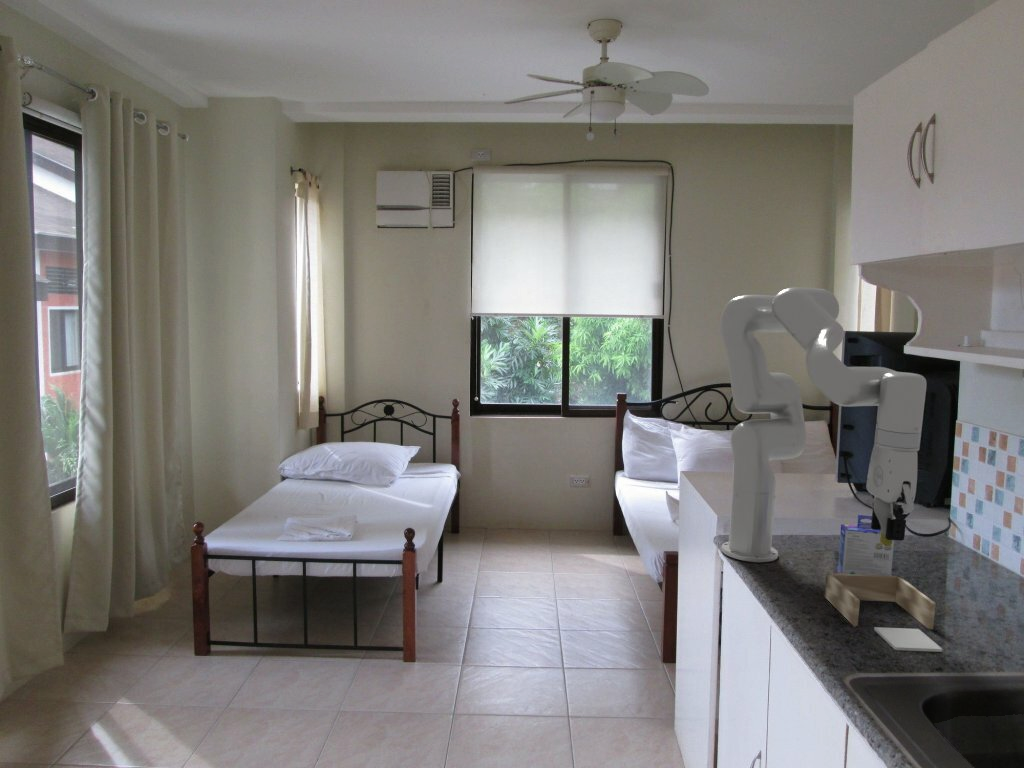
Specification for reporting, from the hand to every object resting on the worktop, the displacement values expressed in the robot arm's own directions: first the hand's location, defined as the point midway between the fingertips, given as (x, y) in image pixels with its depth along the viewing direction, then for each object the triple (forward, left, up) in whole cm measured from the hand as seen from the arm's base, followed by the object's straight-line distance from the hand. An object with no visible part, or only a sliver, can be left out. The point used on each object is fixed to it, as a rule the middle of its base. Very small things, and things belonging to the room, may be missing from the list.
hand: (887, 533), depth 145 cm
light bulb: (0, 0, -2) cm, 3 cm away
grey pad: (+10, 0, -16) cm, 19 cm away
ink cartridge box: (-17, +4, -16) cm, 24 cm away
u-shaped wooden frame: (-2, 0, -16) cm, 16 cm away
